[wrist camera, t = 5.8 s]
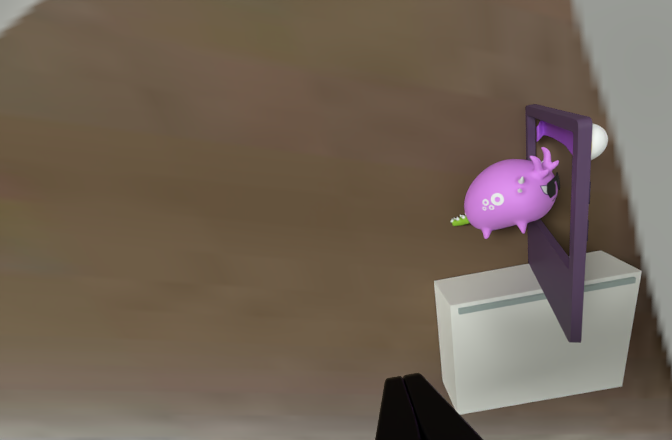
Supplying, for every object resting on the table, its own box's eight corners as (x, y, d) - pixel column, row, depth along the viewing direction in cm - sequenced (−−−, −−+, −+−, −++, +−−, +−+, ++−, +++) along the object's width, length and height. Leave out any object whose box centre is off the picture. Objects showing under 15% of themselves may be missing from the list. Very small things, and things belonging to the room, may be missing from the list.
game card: (603, 346, 12) (623, 112, 9) (462, 342, 14) (441, 144, 11) (549, 260, 18) (550, 100, 15) (455, 265, 20) (439, 122, 17)
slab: (588, 355, 21) (624, 388, 19) (442, 381, 21) (458, 417, 19) (601, 250, 19) (644, 272, 16) (434, 280, 19) (451, 307, 16)
